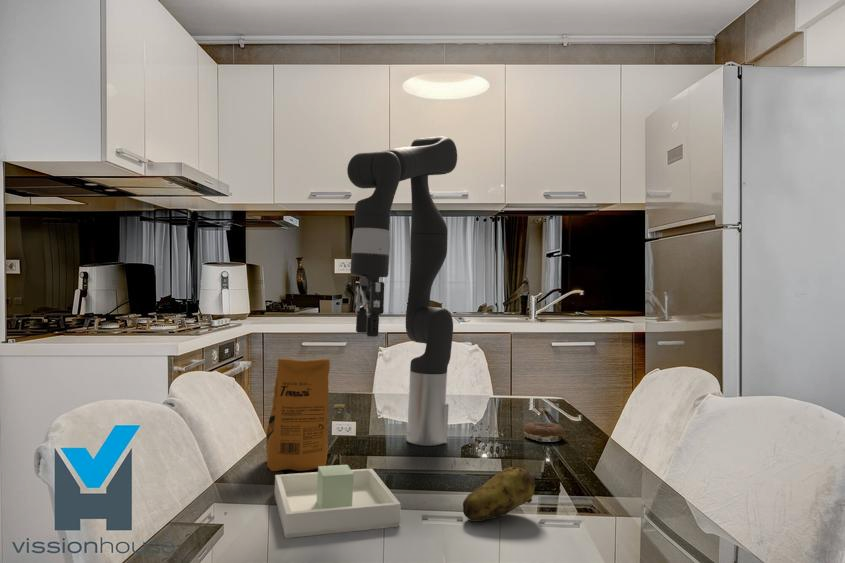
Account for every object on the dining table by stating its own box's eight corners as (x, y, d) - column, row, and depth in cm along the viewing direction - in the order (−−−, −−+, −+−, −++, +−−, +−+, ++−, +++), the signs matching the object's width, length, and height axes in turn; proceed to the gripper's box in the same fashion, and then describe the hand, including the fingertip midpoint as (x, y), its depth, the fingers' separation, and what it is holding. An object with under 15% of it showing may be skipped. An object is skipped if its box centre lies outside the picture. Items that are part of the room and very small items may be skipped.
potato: (454, 508, 96) (456, 461, 96) (525, 507, 98) (527, 461, 98) (465, 528, 88) (468, 477, 88) (543, 527, 90) (545, 477, 90)
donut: (548, 447, 138) (548, 431, 138) (514, 437, 146) (515, 422, 146) (572, 441, 145) (573, 425, 145) (539, 432, 153) (539, 417, 153)
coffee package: (265, 457, 118) (271, 354, 119) (324, 456, 121) (329, 355, 122) (263, 473, 109) (269, 360, 109) (328, 471, 112) (333, 362, 112)
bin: (371, 487, 104) (372, 468, 104) (399, 526, 87) (400, 503, 87) (274, 494, 98) (275, 474, 98) (285, 538, 81) (286, 514, 81)
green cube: (345, 499, 96) (347, 464, 96) (351, 510, 91) (353, 474, 91) (316, 501, 94) (318, 466, 94) (321, 513, 89) (323, 476, 89)
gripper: (399, 252, 105) (395, 338, 104) (379, 255, 118) (375, 331, 118) (360, 249, 102) (356, 337, 102) (344, 253, 115) (340, 331, 115)
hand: (366, 334), depth 110 cm, fingers open, 8 cm apart
